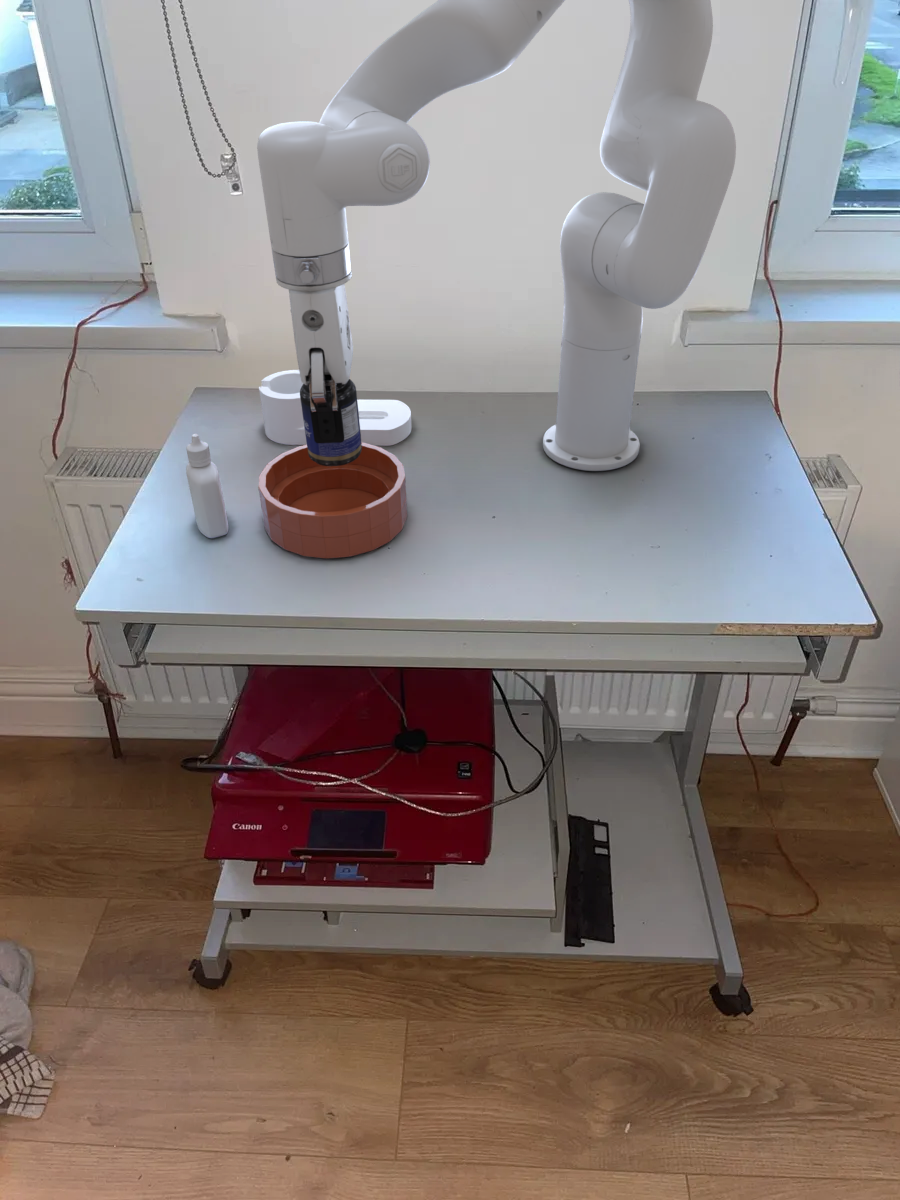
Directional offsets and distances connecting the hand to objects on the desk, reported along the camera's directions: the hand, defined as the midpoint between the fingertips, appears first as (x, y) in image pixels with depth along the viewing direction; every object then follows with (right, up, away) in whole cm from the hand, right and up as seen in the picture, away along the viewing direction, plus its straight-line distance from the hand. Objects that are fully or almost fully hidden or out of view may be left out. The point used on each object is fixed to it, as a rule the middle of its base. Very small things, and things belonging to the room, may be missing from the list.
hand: (332, 424), depth 104 cm
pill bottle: (0, -3, +2) cm, 4 cm away
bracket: (-2, +4, +25) cm, 26 cm away
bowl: (0, -10, +7) cm, 12 cm away
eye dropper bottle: (-15, -11, +7) cm, 20 cm away
